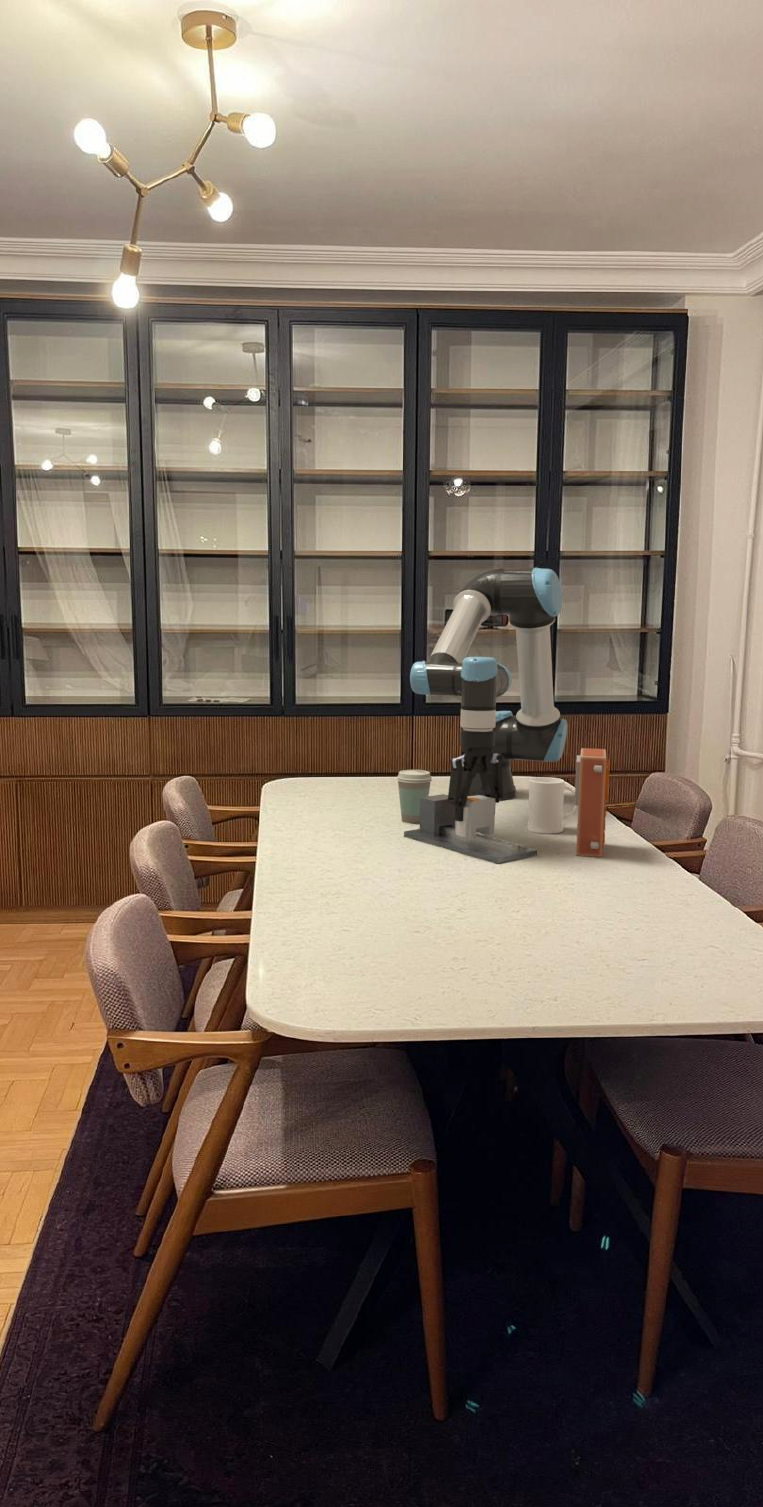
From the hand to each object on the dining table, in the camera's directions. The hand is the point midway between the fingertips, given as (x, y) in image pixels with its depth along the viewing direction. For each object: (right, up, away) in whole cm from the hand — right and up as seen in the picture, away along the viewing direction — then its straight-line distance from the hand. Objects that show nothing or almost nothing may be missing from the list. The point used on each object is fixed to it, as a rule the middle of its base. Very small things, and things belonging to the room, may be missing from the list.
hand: (474, 833), depth 227 cm
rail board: (-1, -3, +2) cm, 4 cm away
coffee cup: (-13, +1, +27) cm, 30 cm away
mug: (+20, -1, +19) cm, 27 cm away
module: (0, 0, 0) cm, 0 cm away
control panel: (+25, -4, 0) cm, 25 cm away
